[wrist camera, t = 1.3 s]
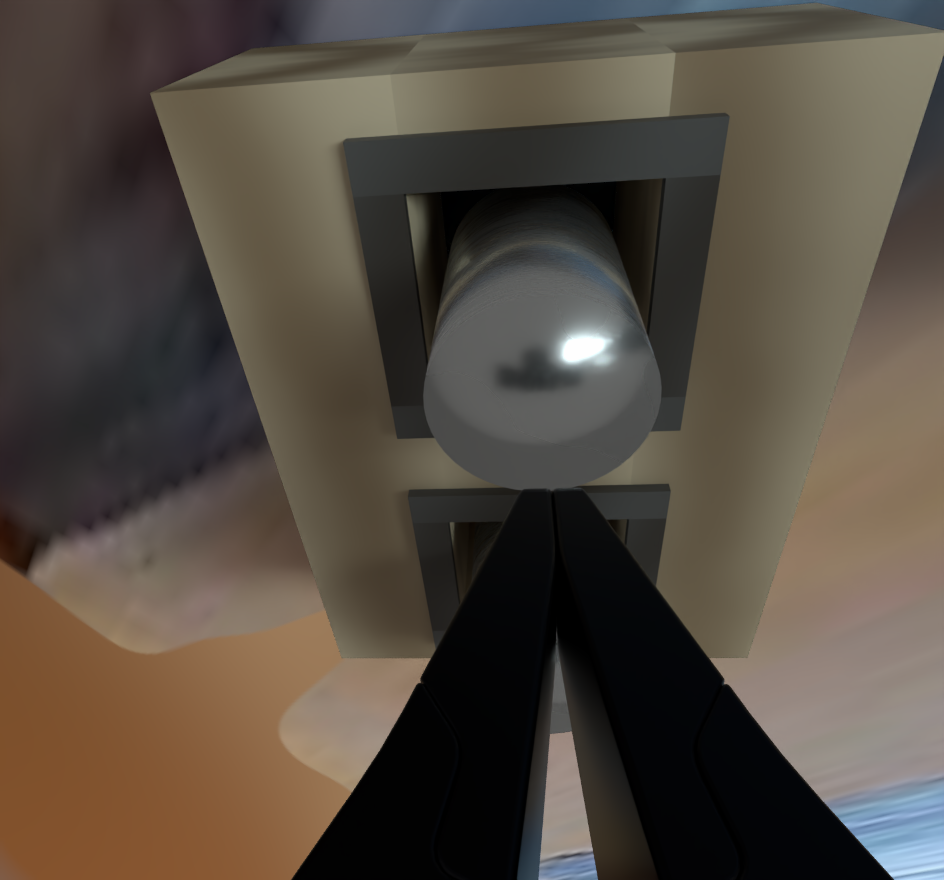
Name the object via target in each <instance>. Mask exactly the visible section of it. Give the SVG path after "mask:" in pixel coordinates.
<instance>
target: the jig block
mask: <svg viewBox="0 0 944 880" xmlns="http://www.w3.org/2000/svg"><path fill="white" fill-rule="evenodd" d="M943 56H944V30H940V29H935V28H931V27H926V26H922V25H917V24H912V23H908V22H903V21H898V20H894V19H889V18H884V17H880V16H875V15H871V14H866V13H861V12H857V11H852V10H847V9H843V8H838V7H833V6H829V5H824V4H820V3H809V4H796V5H784V6H772V7H759V8H747V9H735V10H722V11H710V12H698V13H685V14H673V15H661V16H648V17H636V18H624V19H611V20H599V21H587V22H574V23H562V24H550V25H537V26H525V27H513V28H500V29H488V30H476V31H463V32H451V33H439V34H426V35H414V36H402V37H389V38H377V39H365V40H352V41H340V42H328V43H315V44H303V45H291V46H278V47H266V48H254V49H250V50H248V51H246V52H243V53H241V54H239V55H237V56H234V57H232V58H230V59H227V60H225V61H223V62H220V63H218V64H216V65H213V66H211V67H209V68H207V69H204V70H202V71H200V72H197V73H195V74H193V75H190V76H188V77H186V78H183V79H181V80H179V81H177V82H174V83H172V84H170V85H167V86H165V87H163V88H160V89H158V90H156V91H153V92H151V93H150V95H151V98H152V100H153V103H154V106H155V109H156V112H157V115H158V118H159V121H160V124H161V127H162V130H163V133H164V136H165V139H166V142H167V145H168V148H169V151H170V154H171V156H172V159H173V162H174V165H175V168H176V171H177V174H178V177H179V180H180V183H181V186H182V189H183V192H184V195H185V198H186V201H187V204H188V207H189V210H190V212H191V215H192V218H193V221H194V224H195V227H196V230H197V233H198V236H199V239H200V242H201V245H202V248H203V251H204V254H205V257H206V260H207V263H208V265H209V268H210V271H211V274H212V277H213V280H214V283H215V286H216V289H217V292H218V295H219V298H220V301H221V304H222V307H223V310H224V313H225V316H226V319H227V321H228V324H229V327H230V330H231V333H232V336H233V339H234V342H235V345H236V348H237V351H238V354H239V357H240V360H241V363H242V366H243V369H244V372H245V375H246V377H247V380H248V383H249V386H250V389H251V392H252V395H253V398H254V401H255V404H256V407H257V410H258V413H259V416H260V419H261V422H262V425H263V428H264V431H265V433H266V436H267V439H268V442H269V445H270V448H271V451H272V454H273V457H274V460H275V463H276V466H277V469H278V472H279V475H280V478H281V481H282V484H283V487H284V489H285V492H286V495H287V498H288V501H289V504H290V507H291V510H292V513H293V516H294V519H295V522H296V525H297V528H298V531H299V534H300V537H301V540H302V543H303V545H304V548H305V551H306V554H307V557H308V560H309V563H310V566H311V569H312V572H313V575H314V578H315V581H316V584H317V587H318V590H319V593H320V596H321V598H322V601H323V604H324V607H325V610H326V613H327V616H328V619H329V622H330V625H331V628H332V631H333V633H334V637H335V640H336V643H337V646H338V648H339V652H340V654H341V657H342V658H431V657H432V655H433V654H434V652H435V650H436V648H437V646H438V644H439V642H440V640H441V639H442V637H443V635H444V633H445V631H446V629H447V627H448V625H449V624H450V622H451V620H452V618H453V616H454V614H455V612H456V610H457V609H458V607H459V605H460V603H461V601H462V599H463V597H464V595H465V594H466V592H467V590H468V588H469V586H470V584H471V582H472V568H473V551H474V534H475V522H502V521H504V520H505V519H506V517H507V515H508V513H509V511H510V509H511V507H512V505H513V504H514V502H515V500H516V498H517V496H518V494H519V493H520V491H521V490H515V489H510V488H506V487H501V486H498V485H495V484H492V483H489V482H487V481H484V480H482V479H480V478H478V477H476V476H474V475H472V474H471V473H469V472H467V471H466V470H464V469H463V468H462V467H460V466H459V465H458V464H456V463H455V462H454V461H453V460H452V459H451V458H450V457H449V456H448V455H447V454H446V453H445V452H444V451H443V449H442V448H441V447H440V445H439V444H438V443H437V441H436V439H435V438H434V436H433V434H432V432H431V430H430V427H429V425H428V422H427V419H426V415H425V410H424V400H423V392H424V382H425V377H426V372H427V367H428V361H429V356H430V351H431V346H432V341H433V335H434V330H435V325H436V320H437V315H438V310H439V304H440V299H441V294H442V289H443V284H444V278H445V273H446V268H447V263H448V258H447V248H446V238H445V228H444V218H443V208H442V198H441V192H446V191H463V190H479V189H496V188H512V187H529V186H545V185H562V184H578V183H594V182H611V181H616V193H615V209H614V225H613V237H614V240H615V243H616V245H617V248H618V251H619V254H620V257H621V260H622V263H623V266H624V269H625V272H626V274H627V277H628V280H629V283H630V286H631V289H632V292H633V295H634V298H635V301H636V304H637V306H638V309H639V312H640V315H641V318H642V321H643V324H644V327H645V330H646V333H647V336H648V338H649V341H650V344H651V347H652V350H653V353H654V356H655V359H656V362H657V365H658V369H659V372H660V378H661V387H662V389H661V403H660V407H659V412H658V415H657V418H656V421H655V423H654V426H653V428H652V429H651V431H650V433H649V435H648V437H647V438H646V439H645V441H644V442H643V443H642V445H641V446H640V448H639V449H638V450H637V451H636V452H635V453H634V454H633V455H632V456H631V457H630V458H629V459H627V460H626V461H625V462H624V463H623V464H621V465H620V466H619V467H617V468H616V469H614V470H612V471H611V472H609V473H608V474H606V475H604V476H602V477H600V478H598V479H596V480H593V481H591V482H588V483H585V484H583V485H579V486H575V487H572V488H582V489H584V490H585V491H586V493H587V494H588V495H589V497H590V498H591V499H592V501H593V502H594V503H595V505H596V506H597V507H598V509H599V510H600V511H601V513H602V514H603V516H604V517H605V518H606V520H607V521H608V522H609V524H610V525H611V526H612V528H613V529H614V530H615V532H616V533H617V534H618V536H619V537H620V539H621V540H622V541H623V543H624V544H625V545H626V547H627V548H628V549H629V551H630V552H631V553H632V555H633V556H634V557H635V559H636V560H637V561H638V563H639V564H640V566H641V567H642V568H643V570H644V571H645V572H646V574H647V575H648V576H649V578H650V579H651V580H652V582H653V583H654V584H655V586H656V587H657V589H658V590H659V591H660V593H661V594H662V595H663V597H664V598H665V599H666V601H667V602H668V603H669V605H670V606H671V607H672V609H673V610H674V612H675V613H676V614H677V616H678V617H679V618H680V620H681V621H682V622H683V624H684V625H685V626H686V628H687V629H688V630H689V632H690V633H691V635H692V636H693V637H694V639H695V640H696V641H697V643H698V644H699V645H700V647H701V648H702V649H703V651H704V652H705V653H706V655H707V656H708V658H748V654H749V651H750V648H751V645H752V642H753V639H754V636H755V633H756V630H757V627H758V624H759V621H760V618H761V615H762V611H763V608H764V605H765V602H766V599H767V596H768V593H769V590H770V587H771V584H772V581H773V578H774V575H775V572H776V568H777V565H778V562H779V559H780V556H781V553H782V550H783V547H784V544H785V541H786V538H787V535H788V532H789V529H790V525H791V522H792V519H793V516H794V513H795V510H796V507H797V504H798V501H799V498H800V495H801V492H802V489H803V486H804V482H805V479H806V476H807V473H808V470H809V467H810V464H811V461H812V458H813V455H814V452H815V449H816V446H817V443H818V439H819V436H820V433H821V430H822V427H823V424H824V421H825V418H826V415H827V412H828V409H829V406H830V403H831V400H832V396H833V393H834V390H835V387H836V384H837V381H838V378H839V375H840V372H841V369H842V366H843V363H844V360H845V357H846V353H847V350H848V347H849V344H850V341H851V338H852V335H853V332H854V329H855V326H856V323H857V320H858V317H859V314H860V311H861V307H862V304H863V301H864V298H865V295H866V292H867V289H868V286H869V283H870V280H871V277H872V274H873V271H874V268H875V264H876V261H877V258H878V255H879V252H880V249H881V246H882V243H883V240H884V237H885V234H886V231H887V228H888V225H889V221H890V218H891V215H892V212H893V209H894V206H895V203H896V200H897V197H898V194H899V191H900V188H901V185H902V182H903V178H904V175H905V172H906V169H907V166H908V163H909V160H910V157H911V154H912V151H913V148H914V145H915V142H916V139H917V135H918V132H919V129H920V126H921V123H922V120H923V117H924V114H925V111H926V108H927V105H928V102H929V99H930V96H931V92H932V89H933V86H934V83H935V80H936V77H937V74H938V71H939V68H940V65H941V62H942V59H943ZM551 492H553V491H551Z"/></svg>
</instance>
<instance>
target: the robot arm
mask: <svg viewBox="0 0 944 880" xmlns="http://www.w3.org/2000/svg"><path fill="white" fill-rule="evenodd" d="M556 632H557V644H558V652H559V659H560V666H561V671H562V677H563V683H564V688H565V694H566V700H567V706H568V711H569V717H570V723H571V728H572V734H573V740H574V745H575V751H576V757H577V762H578V768H579V774H580V779H581V785H582V791H583V797H584V802H585V808H586V814H587V819H588V825H589V831H590V836H591V842H592V848H593V853H594V859H595V865H596V870H597V876H598V880H894V879H893V878H892V877H891V876H890V875H889V874H888V872H887V871H886V870H885V869H884V868H883V867H882V866H881V865H880V864H879V863H878V861H877V860H876V859H875V858H874V857H873V856H872V855H871V854H870V853H869V851H868V850H867V849H866V848H865V847H864V846H863V845H862V844H861V843H860V842H859V840H858V839H857V838H856V837H855V836H854V835H853V834H852V833H851V832H850V831H849V829H848V828H847V827H846V826H845V825H844V824H843V823H842V822H841V821H840V820H839V818H838V817H837V816H836V815H835V814H834V813H833V812H832V811H831V810H830V808H829V807H828V806H827V805H826V804H825V803H824V802H823V801H822V800H821V798H820V797H819V796H818V795H817V794H816V793H815V792H814V790H813V789H812V788H811V787H810V786H809V785H808V783H807V782H806V781H805V780H804V779H803V778H802V777H801V775H800V774H799V773H798V772H797V771H796V770H795V769H794V767H793V766H792V765H791V764H790V763H789V762H788V760H787V759H786V758H785V757H784V756H783V755H782V753H781V752H780V751H779V750H778V748H777V747H776V746H775V745H774V743H773V742H772V741H771V739H770V738H769V737H768V736H767V734H766V733H765V732H764V731H763V729H762V728H761V727H760V725H759V724H758V723H757V722H756V720H755V719H754V718H753V717H752V715H751V714H750V713H749V711H748V710H747V709H746V707H745V706H744V704H743V703H742V702H741V700H740V699H739V698H738V696H737V695H736V694H735V692H734V691H733V690H732V688H731V687H730V686H729V685H728V684H724V678H723V676H722V675H721V674H720V672H719V671H718V670H717V668H716V667H715V666H714V664H713V663H712V662H711V660H710V659H709V658H708V656H707V655H706V653H705V652H704V651H703V649H702V648H701V647H700V645H699V644H698V643H697V641H696V640H695V639H694V637H693V636H692V635H691V633H690V632H689V630H688V629H687V628H686V626H685V625H684V624H683V622H682V621H681V620H680V618H679V617H678V616H677V614H676V613H675V612H674V610H673V609H672V607H671V606H670V605H669V603H668V602H667V601H666V599H665V598H664V597H663V595H662V594H661V593H660V591H659V590H658V589H657V587H656V586H655V584H654V583H653V582H652V580H651V579H650V578H649V576H648V575H647V574H646V572H645V571H644V570H643V568H642V567H641V566H640V564H639V563H638V561H637V560H636V559H635V557H634V556H633V555H632V553H631V552H630V551H629V549H628V548H627V547H626V545H625V544H624V543H623V541H622V540H621V539H620V537H619V536H618V534H617V533H616V532H615V530H614V529H613V528H612V526H611V525H610V524H609V522H608V521H607V520H606V518H605V517H604V516H603V514H602V513H601V511H600V510H599V509H598V507H597V506H596V505H595V503H594V502H593V501H592V499H591V498H590V497H589V495H588V494H587V493H586V491H585V490H584V489H582V488H556V489H554V490H553V492H551V490H550V489H548V488H532V489H523V490H521V491H520V493H519V494H518V496H517V498H516V500H515V502H514V504H513V505H512V507H511V509H510V511H509V513H508V515H507V517H506V519H505V520H504V522H503V524H502V526H501V528H500V530H499V532H498V534H497V535H496V537H495V539H494V541H493V543H492V545H491V547H490V549H489V550H488V552H487V554H486V556H485V558H484V560H483V562H482V564H481V565H480V567H479V569H478V571H477V573H476V575H475V577H474V579H473V580H472V582H471V584H470V586H469V588H468V590H467V592H466V594H465V595H464V597H463V599H462V601H461V603H460V605H459V607H458V609H457V610H456V612H455V614H454V616H453V618H452V620H451V622H450V624H449V625H448V627H447V629H446V631H445V633H444V635H443V637H442V639H441V640H440V642H439V644H438V646H437V648H436V650H435V652H434V654H433V655H432V657H431V659H430V661H429V663H428V665H427V667H426V669H425V670H424V672H423V674H422V676H421V678H420V681H421V683H418V684H417V685H416V687H415V689H414V690H413V692H412V694H411V696H410V698H409V700H408V702H407V704H406V705H405V707H404V709H403V711H402V713H401V714H400V716H399V718H398V720H397V721H396V723H395V725H394V727H393V728H392V730H391V732H390V734H389V735H388V737H387V739H386V740H385V742H384V744H383V746H382V747H381V749H380V751H379V752H378V754H377V755H376V757H375V758H374V760H373V761H372V763H371V764H370V766H369V767H368V769H367V770H366V772H365V774H364V775H363V777H362V778H361V780H360V781H359V783H358V784H357V786H356V787H355V789H354V790H353V792H352V793H351V795H350V796H349V798H348V799H347V800H346V802H345V803H344V805H343V806H342V808H341V809H340V810H339V812H338V813H337V815H336V816H335V818H334V819H333V821H332V822H331V823H330V825H329V826H328V828H327V829H326V831H325V832H324V834H323V835H322V836H321V838H320V839H319V841H318V842H317V843H316V845H315V846H314V848H313V849H312V851H311V852H310V853H309V855H308V856H307V858H306V859H305V861H304V862H303V863H302V865H301V866H300V868H299V869H298V871H297V872H296V873H295V875H294V876H293V878H292V879H291V880H538V877H539V865H540V852H541V840H542V827H543V814H544V802H545V789H546V777H547V764H548V751H549V739H550V726H551V713H552V701H553V688H554V676H555V662H556Z"/></svg>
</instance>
